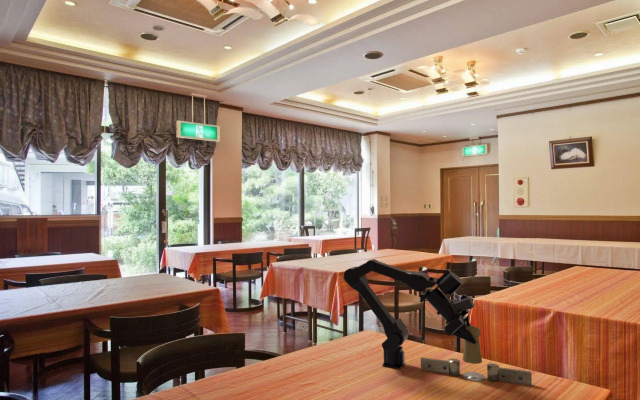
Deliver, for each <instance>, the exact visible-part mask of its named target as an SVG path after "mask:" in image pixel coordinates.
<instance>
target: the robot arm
mask: <svg viewBox="0 0 640 400" xmlns="http://www.w3.org/2000/svg"><path fill="white" fill-rule="evenodd" d="M372 272H373V273H376V274H379V275H382V276H384V277H388V278H390V279H394V280H397V281H398V282H402V283H403V284H404V285H405V286H407V287H408V288H410V289H412V290H413V291H416V292H417V293H420V294H419V298H420V299H419V303H423V302H424V301H425V300H426V301H427V302H428V303H429V304H430V305H431V307H433V308H434V310H435V311H436V314H437V315H438V316H441V317H442V318H443V319H444V320H445V325H444V329H443V330H444V331H443V332H444V333H445V334H446V335H447V336H448V337H449V336H451V335H452V336H455V337H458V338H461V339H463V340H464V341H465V340H466V341H469V342H471V343H473V344H475V343H476V342H477V341H476V340H475V338H474V337H473V336H472V334H471V333H470V332H469V330H468V329H467V327H466V326H472V324H471V323H470V312H471V311H470V310H471V309H473V308H474V307H475V306H476V305H475V303H474V300H473V298H471V296H470V295H469V296H468V295H467V294H466V293H465V294H463V295H461V296H460V299H458V301H454V300H453V299H449V297H448V296H447V295H449V296H452V295H453V294H454V293H455V292H456V291H458V289H460V287H462V286H463V285H464V282H463V280H462V279H461V277H459V276H458V275H457V274H456V273H454V272H453V271H451V270H450V269H449V268H448V269H446V270H445V271H444V273H443V274H442V275H441V276H440V277H438V278H437V277H434V276H430V275H429V274H427V273H426V272H421V271H412V270H405V269H403V268H399V267H396V266H394V265H391V264H387V263H386V262H382V261H379V260H378V259H376V258H373V259H370V260H369V259H368V260H367V261H366V262H365V263H362V264H360V265H359V266H353V267H350V268H347V269H346V270H345V271H344V273H343V280H344V281H345V283H346V284H347V285H348V286H350V288H351V289H353V290H355V291H356V292H357V293H358V294H359V295H360V296H361V297H362V299H363V301H364V302H365V303H366V304H367V306H368V307H369V309H370V310H371V311H372V313H373V314H374V315H375V317H376V318H377V319H378V321H379V322H380V324H381V325H382V328H383V332H384V335H385V336H386V339H385V340H383V342H382V343H381V346H382V349H383V363H382V364H381V365H382V366H383V367H386V368H394V369H401V368H402V367H403V365H404V364H405V363H406V362H405V360H406V359H405V351H403V349H404V348H403V346H402V345H403V343H404V342H406V340H407V339H408V338H409V331H408V329H407V328H408V326H407V325H406V324H405V323H404V322H403V320H402V318H398V319H396V318H395V317H393V316H392V314H391V313H390V312H389V311H388V309H387V307H386V306H385V305H384V304H383V302H382V300H381V299H380V298H379V297H378V295H377V294H376V293H375V292H374V290H373V289H372V288H371V286H370V284H369V282H368V278H367V277H368V276H366V275H368V274H370V273H372ZM436 285H437V286H436ZM434 286H436V287H435V288H433V287H434ZM432 288H433V289H432ZM424 291H425V292H424ZM423 292H424V293H423ZM467 314H468V315H467ZM466 315H467V316H466Z"/></svg>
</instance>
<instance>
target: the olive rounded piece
mask: <svg viewBox="0 0 640 400" xmlns="http://www.w3.org/2000/svg"><path fill="white" fill-rule="evenodd" d="M466 327H467V329H468V330H469V332H470V333H471V334H472V336H473V337H474V338H475V340H476V341H477V342H476V343H475V344H473V343H471V342H469V341H466V340H464V346H463V352H462V354H463V355H462V361H463V362H465V363H468V364H471V365H478V364H481V363H483V360H482V359H483V358H482V351H481V344H480V339H479V338H480V336H481V330H480V328H479V327H477V326H474V325H471V326H466Z"/></svg>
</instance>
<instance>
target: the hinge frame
mask: <svg viewBox="0 0 640 400" xmlns="http://www.w3.org/2000/svg"><path fill="white" fill-rule="evenodd" d="M420 371H424V372H431V373H439V374H445V375H449V376H452V377H459V376H461V361H460V359H458V358H450V359H448V360H446V359H436V358H429V357H420ZM486 372H487V373H486V376H487V377H485V375H483V374H482V373H479V372H475V371H467V372H463V374H462V377H463V378H464V380H468V381H471V382H481V381H484V380H485V378H487V381H489V382H492V383H499V382H502V383H509V384H517V385H523V386H531V387H532V385H533V383H532V381H533V379H532V371H530V370H522V369H518V368H517V369H514V368H508V367H500V366H499V364H496V363H487V364H486Z"/></svg>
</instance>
